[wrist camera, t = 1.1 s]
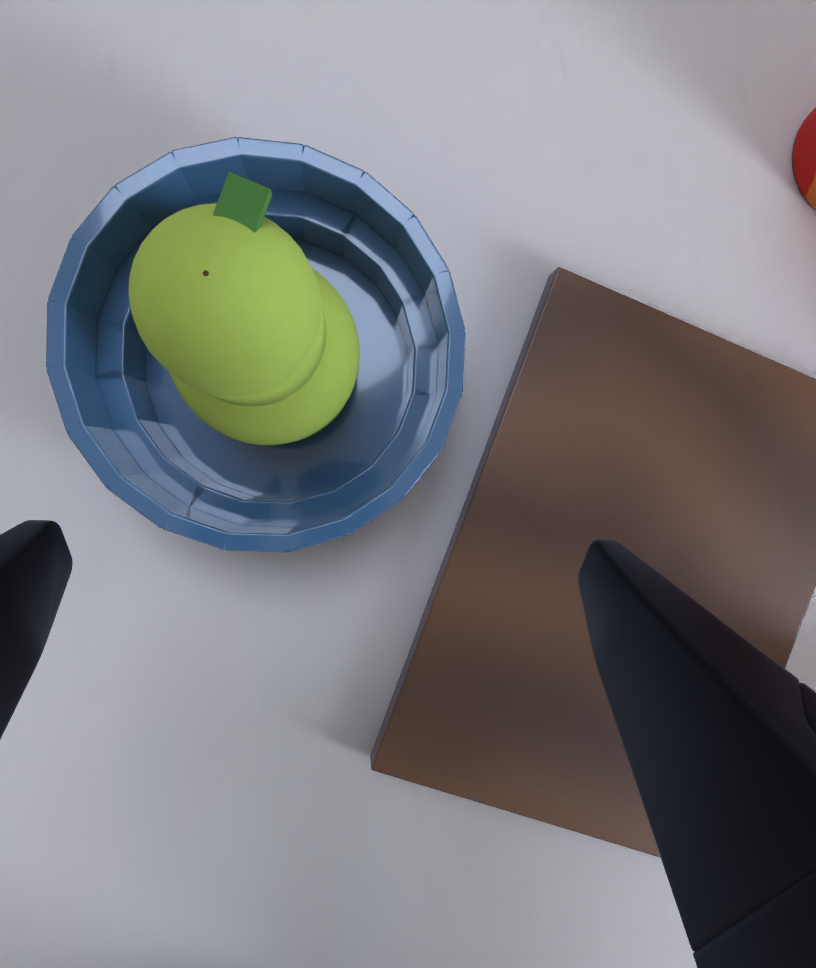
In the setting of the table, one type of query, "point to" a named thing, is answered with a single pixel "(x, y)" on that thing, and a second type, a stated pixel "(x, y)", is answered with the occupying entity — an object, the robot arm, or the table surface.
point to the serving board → (608, 516)
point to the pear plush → (244, 320)
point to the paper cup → (806, 158)
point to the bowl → (203, 450)
